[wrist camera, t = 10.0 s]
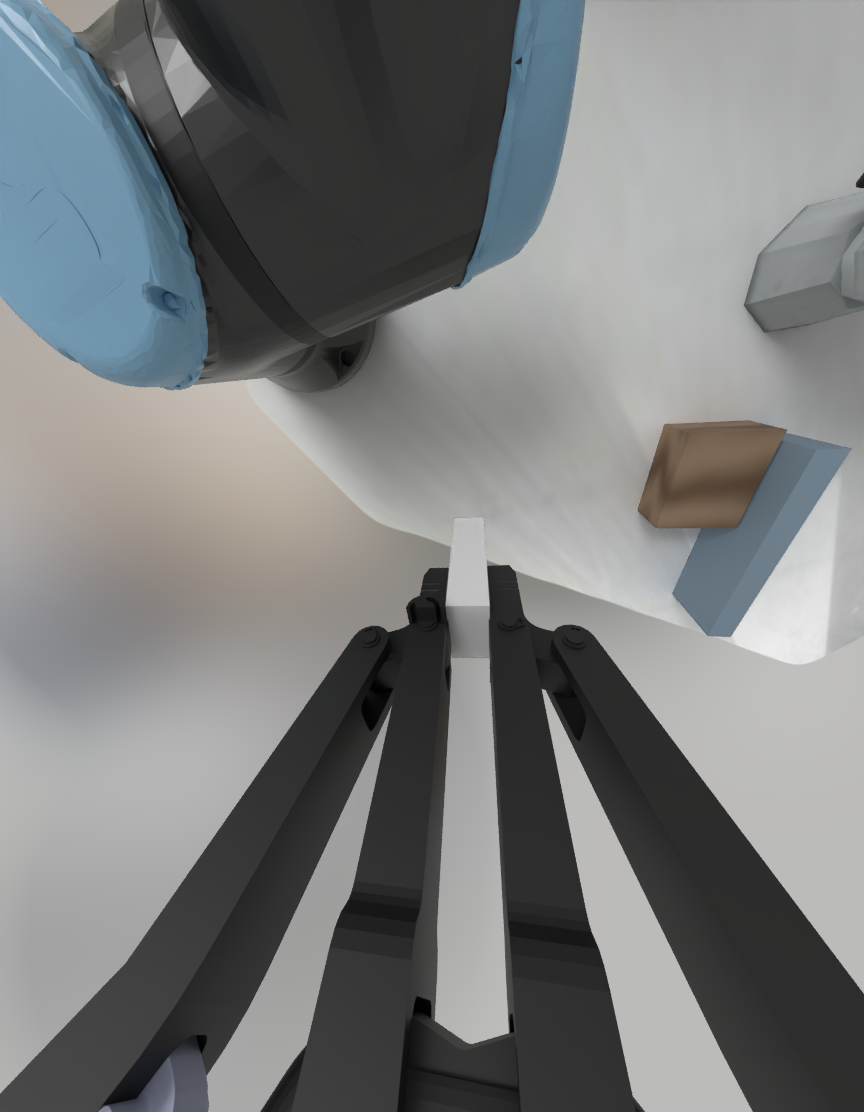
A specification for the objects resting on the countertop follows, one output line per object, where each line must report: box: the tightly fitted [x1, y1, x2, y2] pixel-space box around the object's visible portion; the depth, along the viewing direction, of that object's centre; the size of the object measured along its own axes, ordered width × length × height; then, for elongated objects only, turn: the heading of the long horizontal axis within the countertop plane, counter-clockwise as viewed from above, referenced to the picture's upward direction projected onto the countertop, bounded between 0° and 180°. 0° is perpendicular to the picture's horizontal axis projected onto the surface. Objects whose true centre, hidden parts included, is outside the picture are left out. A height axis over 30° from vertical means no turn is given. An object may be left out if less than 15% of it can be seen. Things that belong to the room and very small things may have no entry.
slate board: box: [673, 433, 851, 637], centre depth 35 cm, size 22×2×8 cm, turn 3°
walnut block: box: [638, 421, 787, 528], centre depth 34 cm, size 10×8×5 cm
